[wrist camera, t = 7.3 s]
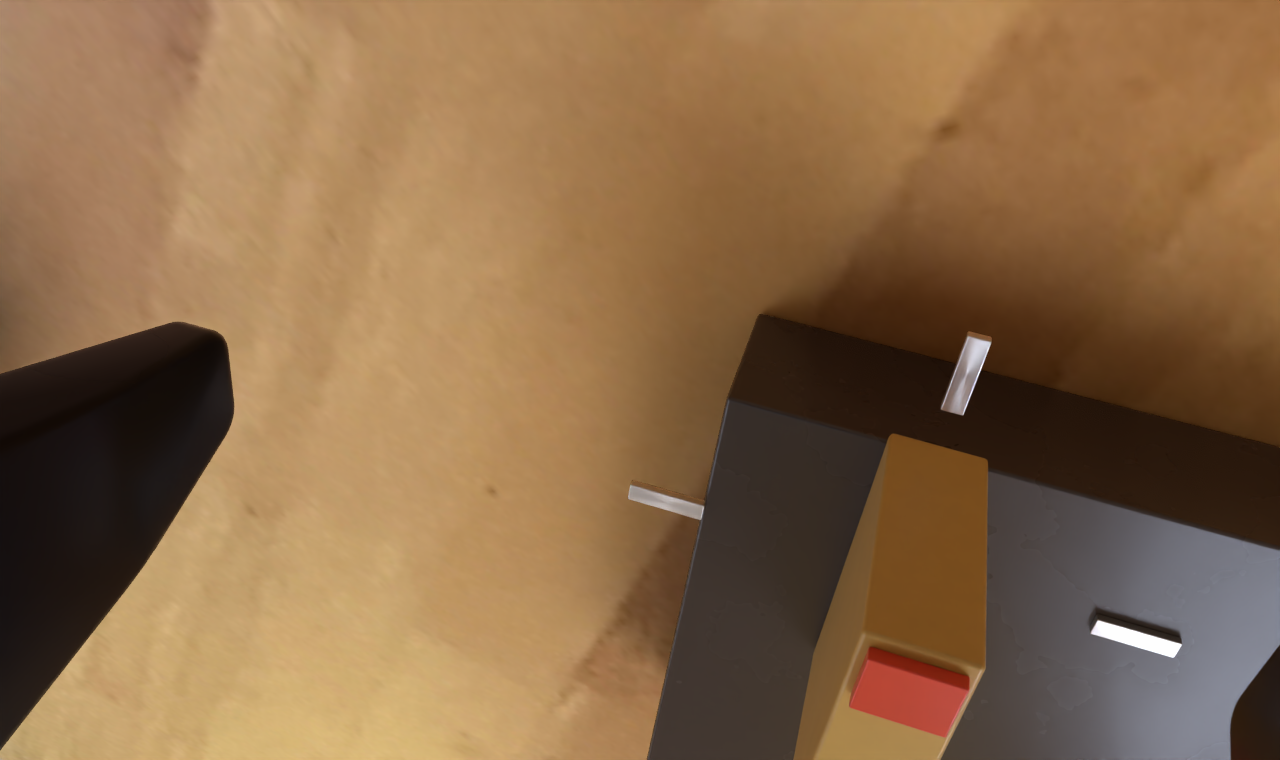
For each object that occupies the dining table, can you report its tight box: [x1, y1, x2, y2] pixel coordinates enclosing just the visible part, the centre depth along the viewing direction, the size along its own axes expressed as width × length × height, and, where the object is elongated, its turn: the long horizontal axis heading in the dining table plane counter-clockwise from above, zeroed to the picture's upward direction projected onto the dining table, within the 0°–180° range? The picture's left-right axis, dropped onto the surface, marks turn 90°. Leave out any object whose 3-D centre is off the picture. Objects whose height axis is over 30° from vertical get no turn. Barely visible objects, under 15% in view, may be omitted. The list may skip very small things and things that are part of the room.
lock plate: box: [628, 314, 1280, 760], centre depth 20 cm, size 14×13×3 cm
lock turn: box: [793, 434, 988, 760], centre depth 17 cm, size 6×2×5 cm, turn 172°
